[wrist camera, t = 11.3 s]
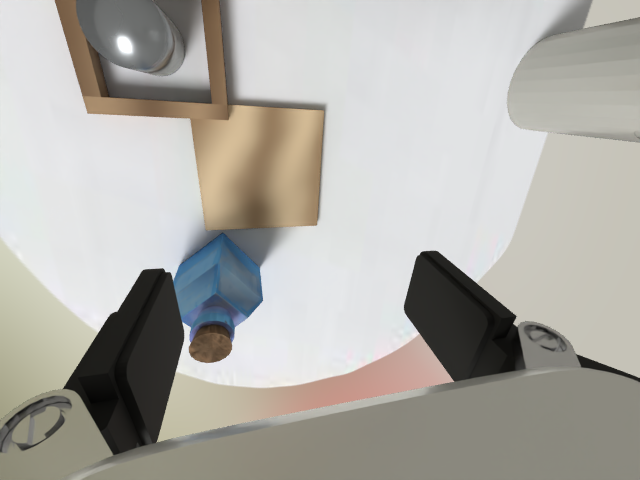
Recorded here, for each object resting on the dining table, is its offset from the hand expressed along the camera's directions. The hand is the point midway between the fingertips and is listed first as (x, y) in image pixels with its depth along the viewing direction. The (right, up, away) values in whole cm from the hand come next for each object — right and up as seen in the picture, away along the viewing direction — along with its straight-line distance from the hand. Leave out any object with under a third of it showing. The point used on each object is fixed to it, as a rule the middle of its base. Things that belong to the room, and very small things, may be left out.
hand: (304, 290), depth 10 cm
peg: (-13, +17, +11) cm, 24 cm away
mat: (-5, +9, +17) cm, 20 cm away
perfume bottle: (-11, -1, +21) cm, 24 cm away
